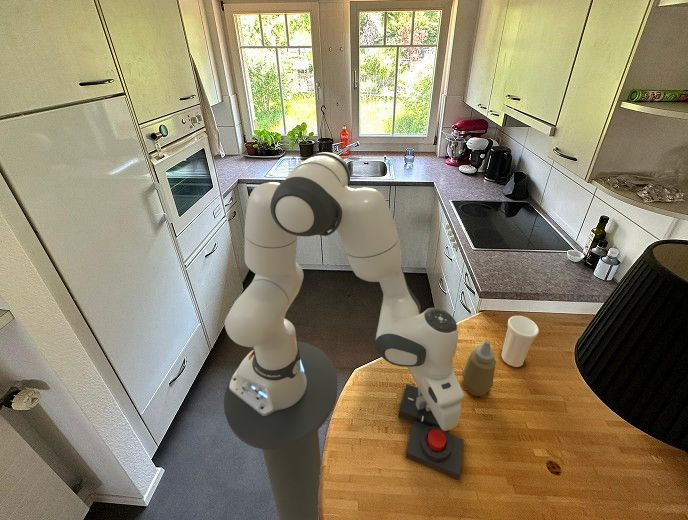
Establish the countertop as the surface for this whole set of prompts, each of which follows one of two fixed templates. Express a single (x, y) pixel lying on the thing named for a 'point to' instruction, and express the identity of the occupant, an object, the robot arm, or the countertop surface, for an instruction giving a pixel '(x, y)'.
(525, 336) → the cup
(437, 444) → the power button
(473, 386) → the squeeze bottle
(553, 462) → the countertop surface
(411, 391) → the control panel
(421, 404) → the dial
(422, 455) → the power base
